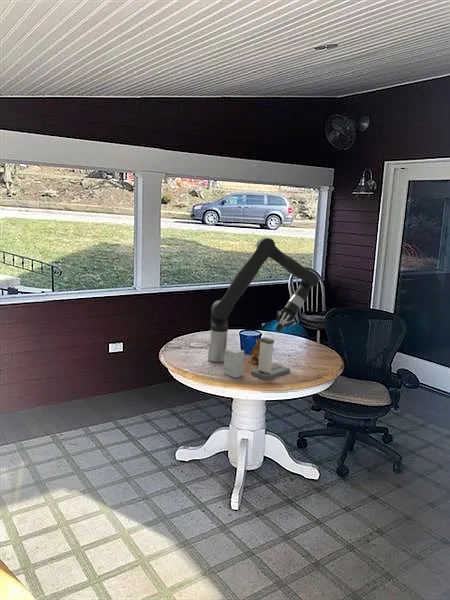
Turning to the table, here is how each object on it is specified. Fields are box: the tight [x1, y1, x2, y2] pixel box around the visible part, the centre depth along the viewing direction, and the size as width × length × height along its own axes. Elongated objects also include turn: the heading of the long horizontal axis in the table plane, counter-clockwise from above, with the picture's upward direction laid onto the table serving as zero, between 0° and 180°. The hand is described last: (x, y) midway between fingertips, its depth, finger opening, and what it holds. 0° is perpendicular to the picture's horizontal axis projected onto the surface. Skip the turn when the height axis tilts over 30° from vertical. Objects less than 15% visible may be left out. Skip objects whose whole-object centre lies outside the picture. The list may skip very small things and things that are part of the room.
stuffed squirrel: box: [250, 339, 260, 366], centre depth 276 cm, size 10×14×13 cm
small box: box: [223, 347, 245, 378], centre depth 251 cm, size 8×6×13 cm
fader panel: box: [250, 363, 291, 381], centre depth 257 cm, size 20×10×2 cm, turn 137°
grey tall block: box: [257, 336, 275, 373], centre depth 252 cm, size 4×6×17 cm, turn 47°
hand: (277, 330), depth 267 cm, fingers closed
